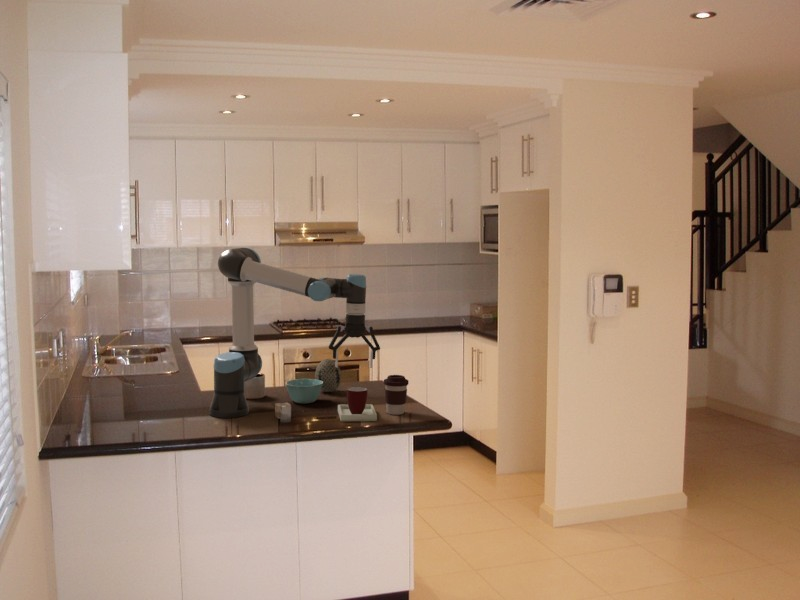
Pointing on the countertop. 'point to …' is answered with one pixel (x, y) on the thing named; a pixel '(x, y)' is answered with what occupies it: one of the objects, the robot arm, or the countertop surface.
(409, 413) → the countertop surface
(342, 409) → the tray
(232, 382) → the robot arm
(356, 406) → the mug
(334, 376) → the decorative egg
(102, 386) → the countertop surface
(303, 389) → the bowl
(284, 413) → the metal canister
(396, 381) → the coffee cup
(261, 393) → the planter
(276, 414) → the white marbled cube
